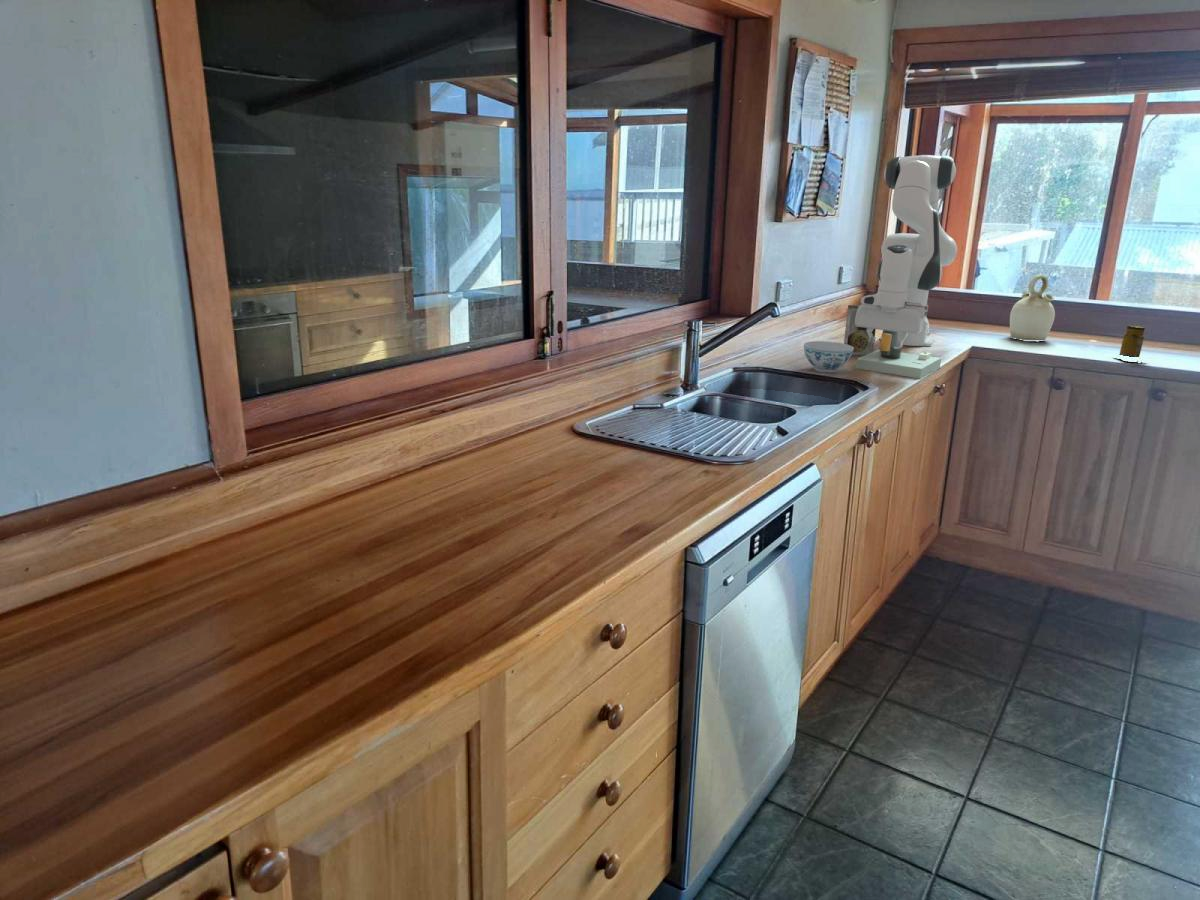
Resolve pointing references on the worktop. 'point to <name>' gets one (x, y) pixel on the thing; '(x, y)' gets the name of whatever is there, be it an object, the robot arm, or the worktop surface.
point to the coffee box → (857, 334)
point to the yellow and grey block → (889, 347)
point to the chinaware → (827, 355)
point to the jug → (1033, 313)
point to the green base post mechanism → (899, 362)
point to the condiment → (1132, 341)
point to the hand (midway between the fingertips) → (885, 344)
